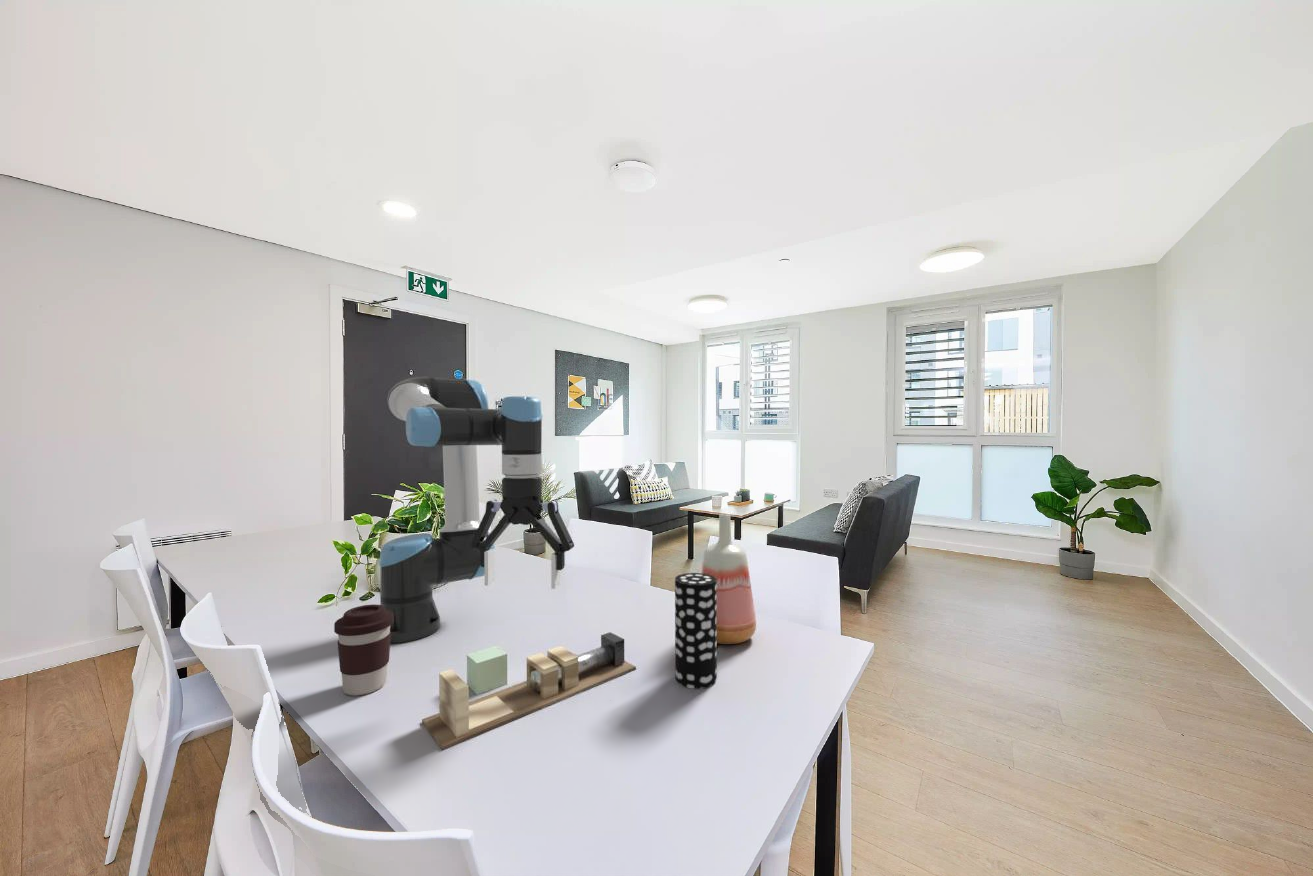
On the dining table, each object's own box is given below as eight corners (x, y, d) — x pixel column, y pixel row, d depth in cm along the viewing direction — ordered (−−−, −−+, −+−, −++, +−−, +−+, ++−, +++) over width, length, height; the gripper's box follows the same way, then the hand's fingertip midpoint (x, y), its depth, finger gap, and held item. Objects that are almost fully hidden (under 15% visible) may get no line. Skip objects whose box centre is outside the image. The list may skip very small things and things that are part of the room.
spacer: (467, 685, 96) (466, 654, 96) (496, 675, 100) (496, 645, 100) (477, 695, 92) (477, 663, 92) (507, 684, 96) (507, 653, 96)
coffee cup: (367, 703, 89) (366, 621, 89) (321, 697, 91) (321, 617, 91) (405, 677, 99) (405, 603, 99) (363, 672, 101) (362, 599, 101)
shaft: (528, 685, 94) (528, 659, 94) (610, 655, 107) (610, 632, 107) (541, 695, 90) (541, 668, 90) (624, 662, 103) (624, 639, 103)
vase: (687, 644, 114) (687, 517, 114) (705, 622, 128) (705, 508, 128) (749, 654, 109) (749, 521, 109) (761, 630, 122) (760, 511, 122)
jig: (422, 722, 83) (421, 675, 83) (607, 653, 110) (607, 617, 110) (442, 750, 76) (442, 698, 76) (635, 669, 102) (635, 630, 102)
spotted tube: (720, 671, 101) (720, 575, 101) (711, 691, 93) (711, 586, 93) (681, 665, 104) (681, 571, 103) (669, 684, 96) (669, 582, 96)
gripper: (451, 477, 94) (452, 588, 94) (577, 478, 90) (578, 594, 90) (472, 474, 101) (472, 576, 101) (589, 475, 97) (589, 582, 97)
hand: (522, 585), depth 95 cm, fingers open, 13 cm apart
